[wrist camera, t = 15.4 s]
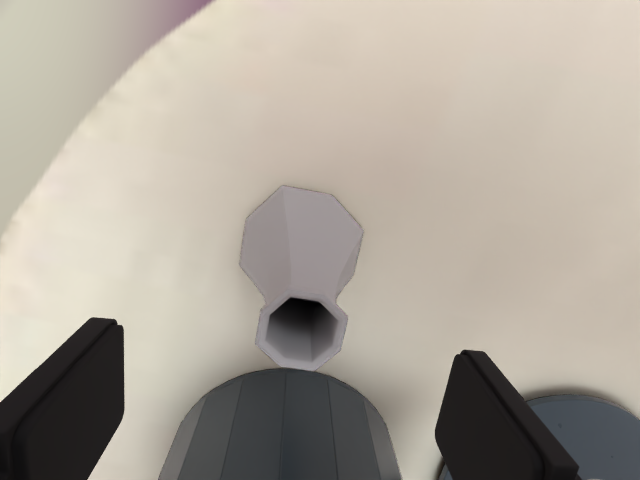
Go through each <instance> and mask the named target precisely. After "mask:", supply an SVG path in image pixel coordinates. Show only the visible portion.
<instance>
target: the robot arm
mask: <svg viewBox="0 0 640 480" xmlns="http://www.w3.org/2000/svg"><path fill="white" fill-rule="evenodd" d="M123 414H124V330H123V326H122V325H117V321H116V320H115V319H106V318H95V317H93V318H90V319H89V320H88V321H87V322H86V323H85V324H84V325H82V326H81V327H80V328H79V329H78V330H77V331H76V332H75V333H74V334H73V335H72V336H71V337H70V338H69V339H68V340H67V341H66V342H65V343H63V344H62V345H61V346H60V347H59V348H58V349H57V350H56V351H55V352H54V353H53V354H52V355H51V356H50V357H49V358H48V359H47V360H45V361H44V362H43V363H42V364H41V365H40V366H39V367H38V368H37V369H35V370H34V371H33V372H32V373H31V374H30V375H29V376H28V377H27V378H26V379H25V380H24V381H23V382H21V383H20V384H19V385H18V386H17V387H16V388H15V389H14V390H13V391H12V392H11V393H10V394H9V395H8V396H7V397H6V398H5V399H3V400H2V401H1V402H0V480H87V479H88V477H89V476H90V474H91V472H92V471H93V469H94V467H95V466H96V464H97V462H98V460H99V459H100V457H101V455H102V454H103V452H104V450H105V448H106V447H107V445H108V443H109V442H110V440H111V438H112V437H113V435H114V433H115V431H116V430H117V428H118V426H119V425H120V423H121V420H122V418H123ZM435 439H436V443H437V445H438V447H439V450H440V452H441V454H442V456H443V459H444V461H445V463H446V466H447V468H448V470H449V472H450V475H451V477H452V479H453V480H582V479H581V477H580V476H579V475H578V474H577V472H578V470H579V465H578V464H577V463H576V462H575V461H574V459H573V458H572V457H571V456H570V455H569V453H568V452H567V451H566V450H565V448H564V447H563V446H562V445H561V444H560V442H559V441H558V440H557V439H556V438H555V436H554V435H553V434H552V433H551V432H550V430H549V429H548V428H547V427H546V425H545V424H544V423H543V422H542V421H541V419H540V418H539V417H538V416H537V415H536V413H535V412H534V411H533V410H532V409H531V407H530V406H529V405H528V404H527V403H526V401H525V400H524V399H523V398H522V396H521V395H520V394H519V393H518V392H517V390H516V389H515V388H514V387H513V386H512V384H511V383H510V382H509V381H508V380H507V378H506V377H505V376H504V375H503V373H502V372H501V371H500V370H499V369H498V367H497V366H496V365H495V364H494V363H493V361H492V360H491V359H490V358H489V357H488V355H487V354H486V353H485V352H483V351H473V350H463V351H462V352H461V353H460V354H457V355H456V356H455V358H454V361H453V364H452V368H451V372H450V376H449V379H448V383H447V387H446V391H445V394H444V398H443V402H442V406H441V409H440V413H439V417H438V421H437V424H436V428H435ZM588 480H600V479H588Z"/></svg>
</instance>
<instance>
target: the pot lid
mask: <svg viewBox="0 0 640 480" xmlns="http://www.w3.org/2000/svg"><path fill="white" fill-rule="evenodd" d="M526 403H527V404H528V405H529V406H530V407H531V409H532V410H533V411H534V412H535V413H536V415H537V416H538V417H539V418H540V419H541V421H542V422H543V423H544V424H545V425H546V427H547V428H548V429H549V430H550V432H551V433H552V434H553V435H554V436H555V438H556V439H557V440H558V441H559V442H560V444H561V445H562V446H563V447H564V448H565V450H566V451H567V452H568V453H569V455H570V456H571V457H572V458H573V459H574V461H575V462H576V463H577V464H578V465H579V470H578V472H577V474H578V475H579V476H580V477H581V479H582V480H588V479H600V480H640V420H639V419H638V418H637V417H636V416H635V415H633V414H632V413H630V412H629V411H628V410H626V409H625V408H623V407H621V406H619V405H617V404H615V403H613V402H610V401H607V400H604V399H601V398H597V397H591V396H586V395H572V394H570V395H554V396H548V397H541V398H537V399H533V400H530V401H526ZM439 480H453V479H452V477H451V475H450V472H449V470H448V468H447V466H446V464H445V465H444V468H443V470H442V472H441V475H440V477H439Z"/></svg>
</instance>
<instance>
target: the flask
mask: <svg viewBox="0 0 640 480" xmlns="http://www.w3.org/2000/svg"><path fill="white" fill-rule="evenodd" d="M363 232H364V230H363V229H362V227H361V226H360V225H359V224H358V223H357V222H356V221H355V220H354V219H353V218H352V216H351V215H350V214H349V213H348V212H347V211H346V210H345V209H344V208H343V206H342V205H341V204H340V203H339V202H338V201H337V200H336V199H335V198H334V197H333V195H331V194H326V193H320V192H315V191H310V190H304V189H299V188H294V187H288V186H283V185H282V186H281V187H280V188H279V189H278V190H277V191H276V192H274V193H273V194H272V195H271V196H270V197H269V198H268V199H267V200H266V201H265V202H264V203H263V204H262V205H260V206H259V207H258V208H257V209H256V210H255V211H254V212H253V213H252V214H251V215H250V216H249V217H248V218H246V222H245V229H244V236H243V243H242V250H241V257H240V263H239V265H240V267H241V268H242V270H243V271H244V272H245V273H246V274H247V275H248V276H249V278H250V279H251V280H252V281H253V283H254V284H255V285H256V287H257V288H258V290H259V291H260V293H261V294H262V295H263V297H264V300H265V305H264V306H263V307H262V308H261V312H260V318H259V323H258V329H257V335H256V341H255V344H256V345H257V346H258V347H259V348H260V349H261V350H262V351H263V352H264V353H266V354H267V355H268V356H269V357H270V358H271V359H272V360H273V361H274V362H276V363H277V364H278V365H279V366H280V367H287V368H294V369H301V370H308V371H316V370H317V369H318V368H319V367H320V366H322V365H323V364H324V363H325V362H327V361H328V360H329V359H330V358H332V357H333V356H334V355H335V354H337V353H338V352H339V351H340V350H341V346H342V342H343V338H344V334H345V330H346V325H347V321H348V316H347V315H346V313H345V312H344V311H343V310H342V309H341V308H340V307H339V306H338V305H337V304H336V298H337V296H338V295H339V293H340V292H341V290H342V289H343V288H344V286H345V285H346V284H347V283H348V282H349V280H350V279H351V278H352V276H353V275H354V271H355V266H356V262H357V258H358V254H359V249H360V245H361V241H362V237H363Z"/></svg>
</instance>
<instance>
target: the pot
mask: <svg viewBox="0 0 640 480" xmlns="http://www.w3.org/2000/svg"><path fill="white" fill-rule="evenodd" d="M158 480H403V479H402V476H401V472H400V469H399V465H398V462H397V458H396V455H395V451H394V448H393V445H392V442H391V439H390V436H389V433H388V429H387V427H386V424H385V422H384V421H383V419H382V417H381V416H380V414H379V413H378V411H377V410H376V408H375V407H374V406H373V405H372V404H371V403H370V402H369V401H368V400H367V399H366V398H365V397H364V396H363V395H362V394H360V393H359V392H358V391H357V390H355V389H354V388H352V387H350V386H349V385H347V384H345V383H344V382H341V381H339V380H337V379H335V378H332V377H330V376H327V375H323V374H320V373H317V372H312V371H306V370H299V369H270V370H263V371H257V372H253V373H249V374H246V375H242V376H239V377H237V378H234V379H232V380H229V381H227V382H225V383H223V384H222V385H220V386H218V387H216V388H215V389H213V390H212V391H210V392H209V393H208V394H206V395H205V396H204V397H202V398H201V399H200V400H199V401H198V402H197V403H196V404H195V405H194V406H193V407H192V409H191V410H190V411H189V413H188V414H187V415H186V417H185V418H184V420H183V421H182V422H181V424H180V426H179V429H178V431H177V434H176V436H175V439H174V441H173V443H172V446H171V448H170V451H169V453H168V456H167V458H166V461H165V463H164V466H163V468H162V471H161V473H160V476H159V478H158Z"/></svg>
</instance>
